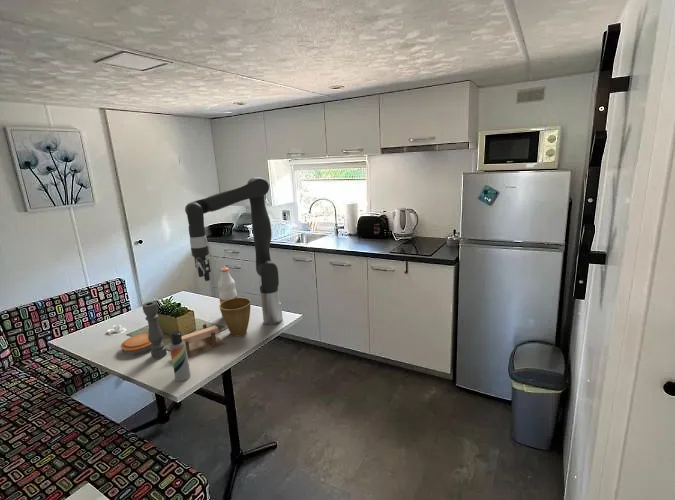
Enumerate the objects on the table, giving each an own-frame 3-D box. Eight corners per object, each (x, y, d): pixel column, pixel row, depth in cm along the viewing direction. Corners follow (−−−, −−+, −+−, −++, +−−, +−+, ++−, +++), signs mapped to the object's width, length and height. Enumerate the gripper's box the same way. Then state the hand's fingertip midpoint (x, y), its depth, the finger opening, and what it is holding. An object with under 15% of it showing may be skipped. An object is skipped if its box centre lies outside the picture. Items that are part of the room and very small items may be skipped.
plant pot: (221, 330, 184) (216, 301, 180) (249, 323, 190) (246, 295, 186) (226, 343, 171) (222, 311, 167) (257, 334, 177) (253, 304, 173)
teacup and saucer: (104, 334, 187) (103, 327, 186) (118, 328, 195) (117, 321, 194) (116, 337, 184) (114, 329, 183) (130, 330, 191) (128, 323, 190)
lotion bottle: (178, 374, 147) (170, 329, 142) (192, 372, 148) (185, 328, 143) (173, 382, 142) (164, 336, 137) (188, 380, 142) (180, 334, 137)
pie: (163, 347, 170) (161, 337, 169) (127, 360, 160) (125, 350, 159) (152, 337, 181) (150, 328, 180) (118, 349, 171) (116, 339, 169)
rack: (213, 334, 181) (211, 321, 179) (224, 344, 170) (222, 330, 168) (171, 348, 169) (169, 334, 167) (180, 359, 158) (177, 345, 156)
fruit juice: (219, 317, 200) (212, 269, 194) (234, 311, 207) (228, 265, 200) (227, 321, 194) (220, 272, 187) (242, 316, 200) (236, 268, 193)
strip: (216, 331, 172) (215, 325, 172) (218, 333, 170) (218, 327, 169) (177, 344, 162) (175, 338, 161) (179, 346, 159) (178, 340, 158)
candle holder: (151, 360, 159) (141, 308, 153) (151, 354, 164) (141, 303, 158) (167, 356, 161) (157, 304, 155) (166, 350, 167) (157, 300, 161)
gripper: (212, 246, 164) (217, 280, 168) (202, 241, 175) (206, 273, 179) (196, 249, 159) (201, 284, 163) (186, 244, 170) (191, 277, 174)
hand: (204, 278), depth 171 cm, fingers open, 8 cm apart
